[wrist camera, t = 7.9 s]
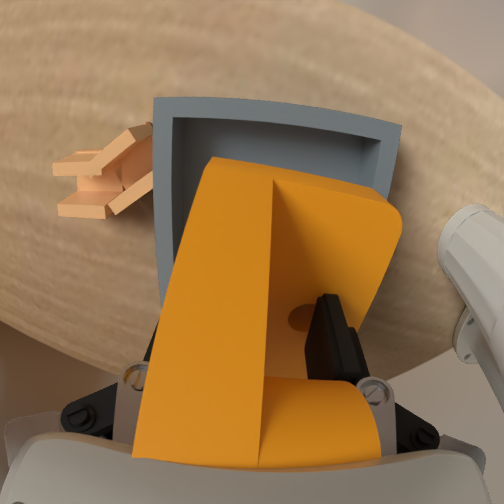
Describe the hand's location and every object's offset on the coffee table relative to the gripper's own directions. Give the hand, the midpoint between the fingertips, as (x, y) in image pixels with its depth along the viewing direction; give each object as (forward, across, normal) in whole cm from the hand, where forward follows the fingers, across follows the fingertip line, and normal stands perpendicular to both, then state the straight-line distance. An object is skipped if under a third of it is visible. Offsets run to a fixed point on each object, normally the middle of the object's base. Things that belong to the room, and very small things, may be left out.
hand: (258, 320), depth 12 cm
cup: (+9, -16, -1) cm, 19 cm away
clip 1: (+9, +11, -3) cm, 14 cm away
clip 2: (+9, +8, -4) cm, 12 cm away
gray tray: (+9, 0, 0) cm, 9 cm away
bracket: (+3, -1, 0) cm, 3 cm away
